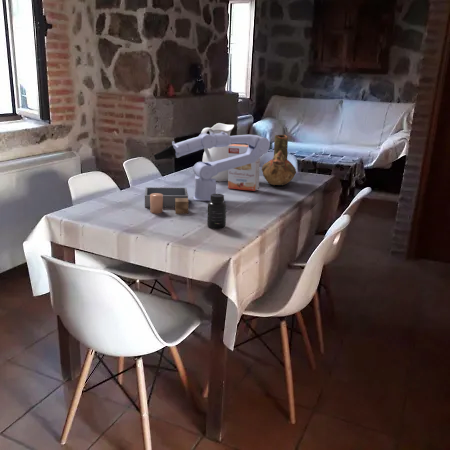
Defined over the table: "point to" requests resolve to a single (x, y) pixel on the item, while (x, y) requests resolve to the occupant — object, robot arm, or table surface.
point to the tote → (166, 195)
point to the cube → (181, 205)
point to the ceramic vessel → (279, 164)
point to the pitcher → (217, 149)
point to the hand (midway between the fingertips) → (156, 157)
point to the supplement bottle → (216, 212)
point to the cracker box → (243, 171)
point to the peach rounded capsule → (156, 203)
